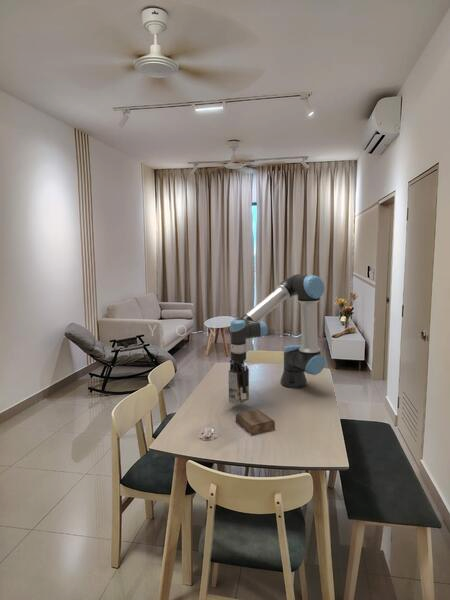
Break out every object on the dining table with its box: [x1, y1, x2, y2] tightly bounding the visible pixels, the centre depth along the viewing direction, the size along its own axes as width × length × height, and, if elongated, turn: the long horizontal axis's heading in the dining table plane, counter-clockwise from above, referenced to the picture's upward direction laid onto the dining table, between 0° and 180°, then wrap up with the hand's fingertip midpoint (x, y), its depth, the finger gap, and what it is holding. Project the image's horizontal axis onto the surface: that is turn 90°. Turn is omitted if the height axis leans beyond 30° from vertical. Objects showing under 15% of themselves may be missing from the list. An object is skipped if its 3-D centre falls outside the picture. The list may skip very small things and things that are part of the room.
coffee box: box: [228, 368, 250, 406], centre depth 190 cm, size 9×6×16 cm
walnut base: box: [235, 408, 276, 436], centre depth 171 cm, size 12×14×4 cm
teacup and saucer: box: [204, 426, 215, 438], centre depth 162 cm, size 9×8×4 cm
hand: (239, 395), depth 191 cm, fingers closed on coffee box, 8 cm apart
